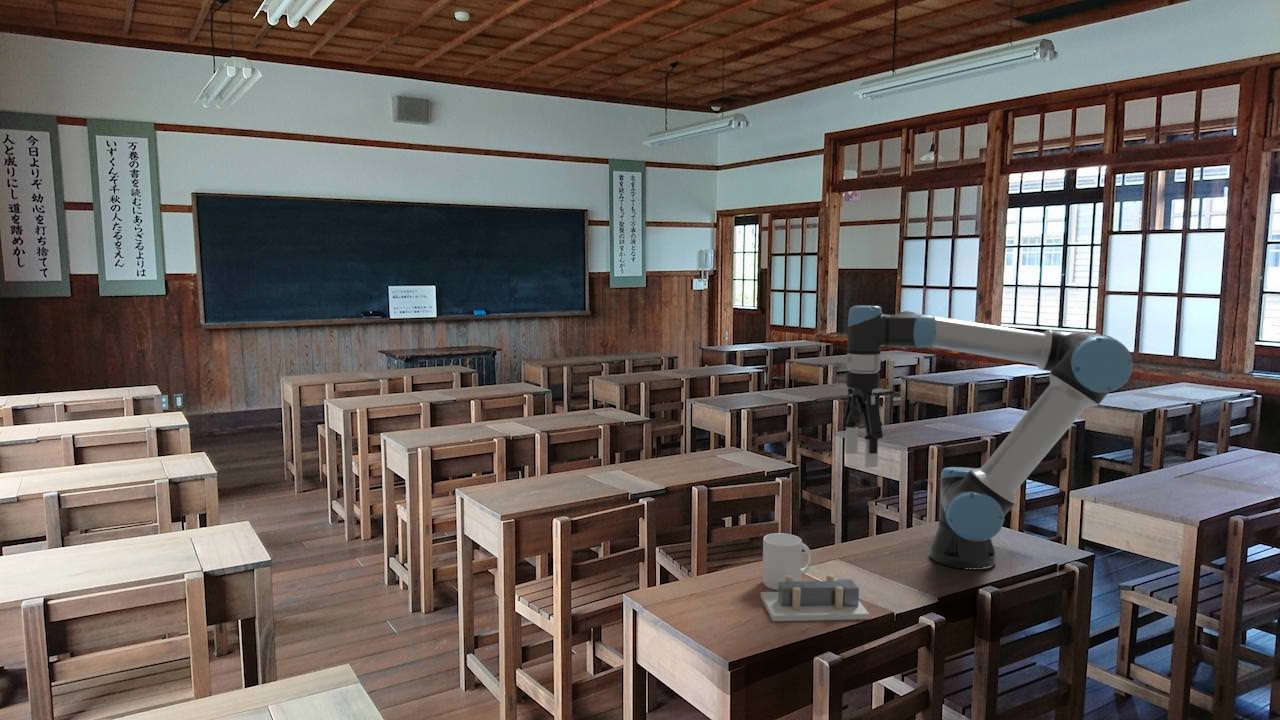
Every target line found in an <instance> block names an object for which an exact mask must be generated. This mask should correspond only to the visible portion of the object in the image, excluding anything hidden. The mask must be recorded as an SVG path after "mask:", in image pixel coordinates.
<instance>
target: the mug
mask: <svg viewBox="0 0 1280 720" xmlns="http://www.w3.org/2000/svg"><path fill="white" fill-rule="evenodd" d="M762 542H763V543H762V546H763V547H762V551H763V552H762V584H763V585H764V586H765V587H767V588H768V589H770V590H773V591H776V592H778V588H779V582H785V576H786V575H791V576H793V582H802V578H801V577H802V576H803V575H805V574H806V573H807V571H808V570H809V568H810V566H811V561H812V560H811V559H812V554H811V549H810V548H809V547H808V545H806V544H805V543H803V540H802V538H801V537H799V536H797V535H794V534H791V533H783V532H782V533H781V532H779V533H778V532H775V533H769V534H766V535H764V536H763V539H762ZM803 551H805V552H806V553H807V554H808V562H807V564H806V565H805V566H804V567H802V552H803Z"/></svg>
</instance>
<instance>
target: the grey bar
mask: <svg viewBox="0 0 1280 720" xmlns="http://www.w3.org/2000/svg"><path fill="white" fill-rule="evenodd" d="M837 586H840V587H843V606H844V607H858V601H859V602H860V600H859V599H860V598H859V596H860V595H859V594H860V591H859V590H860V588H859V587H858V585H857V584H856V583H855V582H854V581H853V580H852V579H849V578H848V579H842V578H841V579H837V580H834V581H826V580H819V581H816V580H815V581H814V580H812V581H810V580H809V581H807V580H806V581H803V580H802V581H801V582H779V588H778V591H777V592H778V600H779V602H780V604H781V606H782V607H792V601H793V588H794V587H799V588H801V596H800V606H835V590H836V587H837Z"/></svg>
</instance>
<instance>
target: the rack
mask: <svg viewBox="0 0 1280 720" xmlns="http://www.w3.org/2000/svg"><path fill="white" fill-rule="evenodd" d="M825 581H835V575H833V574H826V579H825ZM785 582H793V576H791V575H786V576H785ZM800 596H801V588H799V587H794V588H793V601H792V607H782V606H781V604H780V602H779V600H778V591H761V592H760V599H761V601H762V603H763V605H764V607H765V609H766V611H767V613H768V614H769V617H770V620H771V621H772V622H793V621H794V622H796V621H797V622H799V621H803V622H804V621H805V622H807V621H846V620H847V621H848V620H849V621H850V620H851V621H855V620H856V621H857V619H858V620H869V619H870V613H869V612H868V610H867V609H866V608H865V606H864V605H863V604H862V602H860V600H859V601H858V607H844V606H843V587H840V586H837V587H836V590H835V606H800Z"/></svg>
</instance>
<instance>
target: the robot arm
mask: <svg viewBox="0 0 1280 720" xmlns="http://www.w3.org/2000/svg"><path fill="white" fill-rule="evenodd" d="M847 319H848V320H847V353H846V354H847V357H845V358H844V359H845V362H846V365H847V366H846V368H847V370H848V371H847V373H846V387H847V388H848V389H847V397H846V404H845V408H844V414H843V417H842V422H843V423H844V425H845V427H846V429H845V454H846V455H854V454H855V455H857V454H858V444H859V443H858V439H859V426H860V423H859V421H860V420H859V419H860V417H862V420H863V425H864V429H865V433H866V435H865V436H864V441H865V443H864V444H865V446H864V447H865V448H864V449H865V450H864V467H865V468H877V467H878V461H879V460H878V459H879V458H878V455H879V440H880V439H882V438H883V436H884V435H883V427H882V422H881V421H882V419H881V415H880V408H879V396H878V395H873V390H878V389H879V388H880V385H881V384H880V382H881V381H880V378H881V374H880V372H879V371H880V370H881V356H882V355H881V353H882V352H881V349H882V347H885V348H888V347H894V348H895V347H896V348H917V349H923V348H937V349H942V350H948V351H954V352H961V353H965V354H966V353H967V354H973V355H978V356H983V357H987V358H988V357H989V358H993V359H994V358H995V359H996V358H997V359H1002V360H1006V361H1013V362H1019V363H1025V364H1032V365H1035V366H1036V367H1037V368H1038V369H1039V370H1041V371H1045V372H1049V374H1048V376H1049V384H1048V386H1047V387H1046V389H1044V391H1043V393H1042V394H1040V396H1039V397H1038V398H1037V400H1036V401H1035V402H1034V403H1033V404H1032V405H1031V407H1030V408H1029V409H1028V410H1027V412H1026V413H1025V414H1024V415H1023V416H1022V418H1021V419H1020V420H1019V422H1018V423H1017V424H1016V425H1015V427H1014V428H1013V429H1012V430H1011V432H1010V433H1009V434H1008V435H1007V436H1006V437H1005V439H1004V440H1003V441H1002V442H1001V444H999V446H998V447H997V448H996V449H995V450H994V452H993V454H991V456H990V457H989V458H988V459H987V461H985V463H984V464H983V466H981V467H978V468H974V467H961V466H959V467H958V466H950V467H944V468H943V469H942V470H941V473H940V478H939V481H940V491H939V494H940V495H939V496H940V497H939V517H938V518H939V519H938V527H937V530H936V533H935V534H934V537H933V539H932V541H931V544H930V548H929V550H930V551H929V556H930V558H931V559H932V560H933V561H934V562H936V561H937V562H936V563H938V562H939V563H938V564H940V563H941V565H943V564H944V566H946V565H947V567H950V566H951V568H954V567H956V568H955V569H959V568H968V569H969V568H972V569H973V568H983V567H988V566H991V565H993V564H994V563H995V564H996V559H997V558H996V557H997V554H996V551H995V548H994V544H993V541H992V538H994V537H995V536H996V535H998V534H999V533H1000V531H1001V530H1002V528H1003V525H1004V522H1005V516H1006V515H1007V513H1009V511H1010V510H1011V509H1012V507H1014V505H1015V504H1016V503H1017V498H1016V491H1017V490H1018V488H1020V487H1021V485H1022V484H1024V482H1025V481H1026V479H1027V478H1028V477H1029V476H1030V475H1031V473H1032V472H1033V471H1034V470H1035V469H1036V468H1037V466H1038V465H1040V462H1042V460H1043V459H1044V458H1045V457H1046V456H1047V454H1048V453H1049V452H1050V451H1051V450H1052V448H1053V447H1054V446H1055V445H1056V444H1057V442H1058V441H1059V440H1060V439H1061V438H1062V437H1063V436H1064V435H1065V433H1066V432H1067V431H1068V430H1069V429H1070V427H1071V426H1072V425H1073V424H1074V423H1075V421H1076V420H1077V419H1078V418H1079V417H1080V415H1081V414H1082V413H1083V412H1084V410H1085V409H1087V408H1089V407H1090V408H1091V407H1098V406H1099V405H1100V403H1102V401H1103V400H1104V399H1105V398H1106V397H1107V395H1108V394H1109V393H1110V392H1114V391H1116V390H1118V389H1120V388H1121V387H1123V386H1124V385H1125V384H1127V382H1128V381H1129V379H1130V377H1131V376H1132V372H1133V368H1134V363H1133V358H1132V354H1131V352H1130V351H1129V349H1128V348H1127V347H1126V345H1125V344H1123V343H1122V342H1120V340H1118V339H1116V338H1114V337H1112V336H1110V335H1108V334H1107V335H1106V334H1101V333H1097V332H1090V331H1064V330H1063V331H1061V330H1053V329H1047V330H1045V331H1043V332H1038V331H1031V330H1025V329H1018V328H1013V327H1007V326H1006V327H1005V326H1001V325H1000V326H999V325H993V324H987V323H986V324H985V323H980V322H974V321H967V320H961V319H955V318H949V317H942V316H936V315H935V316H934V315H933V314H932V315H930V314H923V313H916V312H914V311H907V310H904V311H901V312H899V313H897V314H886V313H883V310H882V307H881V306H880V305H853V306H851V307H850V308H849V311H848V317H847Z"/></svg>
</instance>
